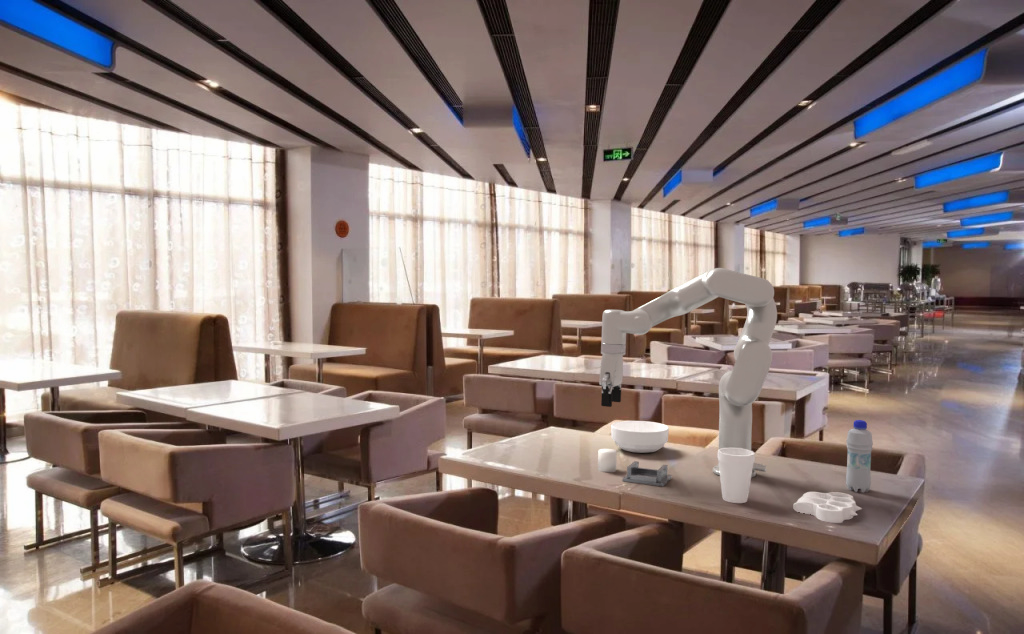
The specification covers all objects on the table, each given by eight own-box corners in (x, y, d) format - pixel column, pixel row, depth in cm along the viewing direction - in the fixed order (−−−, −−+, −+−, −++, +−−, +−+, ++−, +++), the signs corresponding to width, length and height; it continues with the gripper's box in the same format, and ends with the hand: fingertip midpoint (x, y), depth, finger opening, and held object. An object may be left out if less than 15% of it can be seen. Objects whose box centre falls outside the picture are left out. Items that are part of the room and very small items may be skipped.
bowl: (638, 441, 257) (638, 418, 257) (680, 452, 241) (680, 427, 241) (599, 448, 246) (599, 424, 245) (640, 460, 230) (641, 434, 229)
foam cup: (731, 492, 195) (732, 446, 194) (760, 500, 187) (761, 452, 187) (709, 498, 189) (710, 450, 189) (738, 507, 182) (740, 457, 181)
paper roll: (618, 468, 219) (618, 449, 218) (613, 473, 214) (613, 453, 213) (601, 466, 221) (601, 447, 221) (595, 470, 216) (595, 451, 216)
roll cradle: (671, 477, 209) (671, 464, 208) (663, 486, 200) (663, 472, 199) (632, 472, 214) (632, 459, 214) (622, 481, 205) (622, 467, 205)
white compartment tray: (806, 498, 191) (866, 509, 182) (789, 516, 176) (853, 528, 168) (806, 486, 191) (866, 496, 182) (790, 503, 176) (853, 514, 168)
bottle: (848, 485, 203) (850, 416, 202) (873, 489, 198) (876, 419, 197) (842, 490, 197) (844, 420, 196) (868, 495, 193) (870, 423, 192)
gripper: (609, 346, 227) (607, 399, 228) (592, 350, 211) (590, 406, 212) (632, 348, 224) (630, 401, 225) (617, 352, 208) (614, 409, 209)
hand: (611, 404), depth 218 cm, fingers open, 9 cm apart
